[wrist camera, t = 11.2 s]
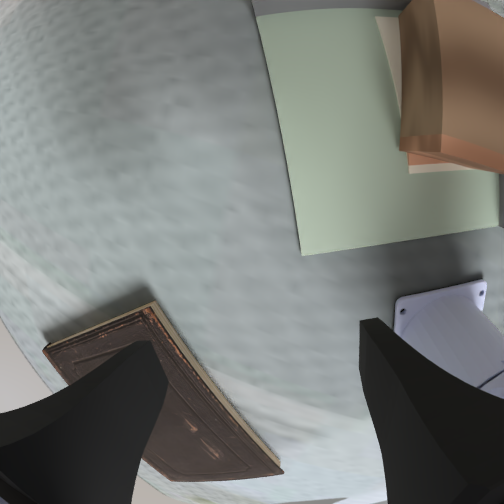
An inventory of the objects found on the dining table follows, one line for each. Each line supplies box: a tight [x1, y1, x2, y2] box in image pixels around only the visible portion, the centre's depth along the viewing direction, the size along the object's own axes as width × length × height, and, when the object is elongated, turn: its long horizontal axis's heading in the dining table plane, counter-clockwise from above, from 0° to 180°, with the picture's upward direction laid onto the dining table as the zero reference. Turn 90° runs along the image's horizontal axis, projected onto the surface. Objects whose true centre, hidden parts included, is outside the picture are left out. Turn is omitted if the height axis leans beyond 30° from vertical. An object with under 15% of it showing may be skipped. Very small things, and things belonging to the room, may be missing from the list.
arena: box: [251, 0, 504, 256], centre depth 13 cm, size 16×16×2 cm
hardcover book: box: [42, 301, 284, 482], centre depth 24 cm, size 16×23×2 cm
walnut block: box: [398, 0, 504, 174], centre depth 10 cm, size 9×5×5 cm, turn 177°
